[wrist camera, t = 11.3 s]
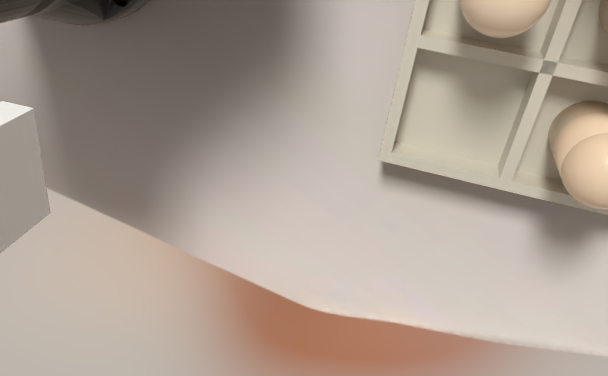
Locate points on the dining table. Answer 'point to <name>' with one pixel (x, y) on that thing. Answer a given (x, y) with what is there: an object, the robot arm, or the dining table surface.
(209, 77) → the dining table surface
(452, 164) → the egg tray
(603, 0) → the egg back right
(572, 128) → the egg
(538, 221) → the dining table surface
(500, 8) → the beige domed cylinder
